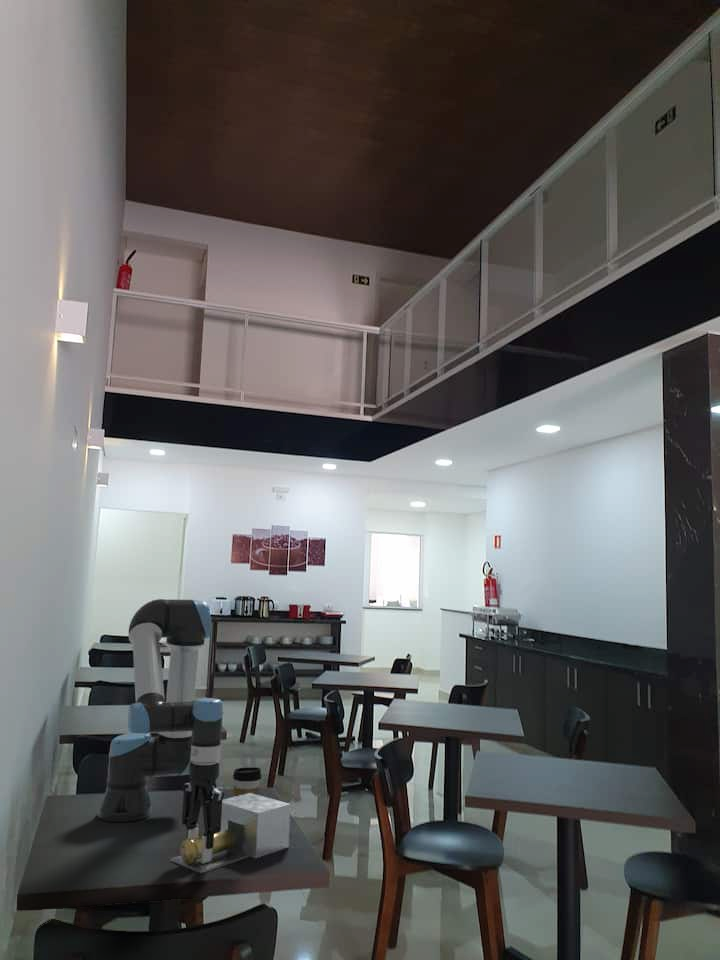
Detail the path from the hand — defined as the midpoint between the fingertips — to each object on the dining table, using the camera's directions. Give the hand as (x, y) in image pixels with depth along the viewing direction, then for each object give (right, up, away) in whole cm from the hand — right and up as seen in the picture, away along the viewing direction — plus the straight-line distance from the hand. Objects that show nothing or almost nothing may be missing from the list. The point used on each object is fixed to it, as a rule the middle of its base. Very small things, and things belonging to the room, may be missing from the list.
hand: (198, 858), depth 185 cm
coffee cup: (+6, -7, +34) cm, 35 cm away
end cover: (+2, -1, +2) cm, 3 cm away
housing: (+6, -2, +7) cm, 10 cm away
